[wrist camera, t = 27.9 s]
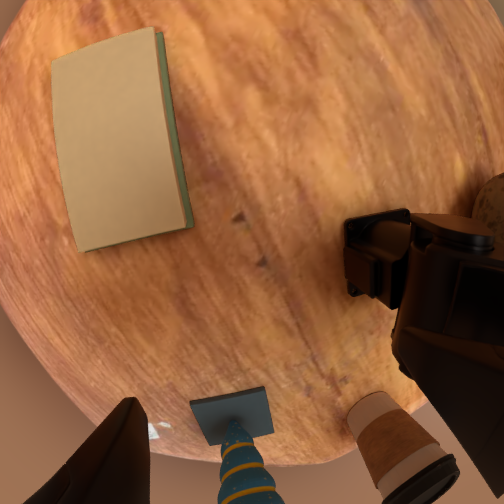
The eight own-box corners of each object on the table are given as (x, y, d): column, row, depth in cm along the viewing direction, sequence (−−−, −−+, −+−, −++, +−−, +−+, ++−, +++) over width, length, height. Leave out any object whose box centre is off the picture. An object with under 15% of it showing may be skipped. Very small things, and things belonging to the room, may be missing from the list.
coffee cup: (346, 440, 30) (395, 526, 16) (327, 412, 27) (387, 519, 13) (401, 405, 30) (462, 480, 16) (391, 370, 27) (471, 459, 13)
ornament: (220, 441, 25) (243, 567, 11) (195, 414, 23) (208, 560, 9) (266, 424, 25) (309, 552, 11) (245, 395, 24) (286, 546, 9)
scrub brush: (164, 38, 15) (159, 19, 13) (194, 223, 20) (193, 232, 17) (63, 70, 14) (46, 58, 12) (90, 248, 19) (74, 260, 16)
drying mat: (264, 386, 24) (265, 390, 24) (273, 429, 26) (274, 432, 26) (189, 400, 24) (189, 405, 23) (209, 442, 26) (209, 446, 25)
